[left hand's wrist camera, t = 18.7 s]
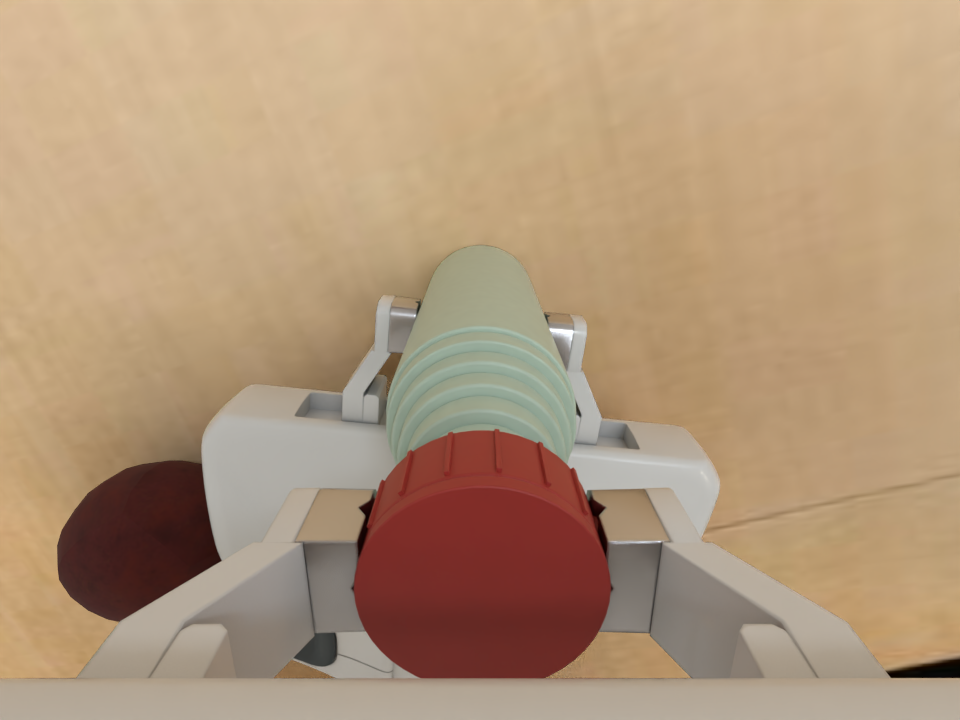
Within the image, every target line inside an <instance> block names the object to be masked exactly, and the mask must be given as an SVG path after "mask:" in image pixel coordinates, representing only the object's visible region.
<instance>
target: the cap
mask: <svg viewBox="0 0 960 720" xmlns="http://www.w3.org/2000/svg"><path fill="white" fill-rule="evenodd" d="M367 528H368V529H367V532H366V536H365V539H364V542H363V546H362V550H361V552H360V556H359V559H358V563H357V567H356V571H355V576H354V597H355V604H356V608H357V612H358V615H359V618H360V620H361V623H362V625H363V627H364V629H365V631H366V632H367V634H368V636H369V637H370V639H371V640H372V642H373V643H374V644H375V645H376V646H377V647H378V649H379V650H380V651H381V652H382V653H383V654H384V655H385V656H386V657H388V658H389V659H390V660H391V661H392V662H394V663H395V664H396V665H398V666H399V667H401V668H402V669H404V670H405V671H407V672H409V673H411V674H413V675H414V676H416V677H419V678H545V677H548V676H550V675H552V674H554V673H555V672H557V671H559V670H561V669H562V668H564V667H565V666H567V665H568V664H569V663H571V662H572V661H574V660H575V659H576V658H577V657H578V656H579V655H580V654H581V653H582V652H583V651H584V650H585V649H586V648H587V647H588V646H589V645H590V643H591V642H592V641H593V640H594V638H595V637H596V635H597V633H598V632H599V630H600V628H601V626H602V624H603V622H604V619H605V617H606V614H607V610H608V607H609V603H610V594H611V580H610V572H609V568H608V564H607V560H606V557H605V554H604V551H603V547H602V544H601V541H600V537H599V534H598V519H597V517H595V516H593V515H592V512H591V508H590V505H589V502H588V499H587V496H586V494H585V491H584V489H583V486H582V485H581V483H580V481H579V479H578V476H577V473H576V470H575V469H574V468H571V469H570V468H569V466H568V465H567V464H566V463H565V462H564V461H563V460H561V459H560V458H559V457H558V456H557V455H556V454H554V453H553V452H551V451H550V450H548V449H547V448H545V447H544V445H543V443H542V442H540V441H539V442H538V443H536V442H534V441H532V440H529V439H527V438H524V437H521V436H518V435H514V434H510V433H506V432H500V430H499V429H494V431H490V430H473V431H465V432H458V433H453V432H449V433H448V435H446V436H443V437H440V438H438V439H435V440H432V441H430V442H428V443H426V444H425V445H423V446H421V447H419V448H417V449H416V450H414V451H412V450H409V451H408V452H407V456H406V457H405V458H404V459H403V460H402V461H401V462H399V463H398V464H397V465H396V466H395V468H394V469H393V470H392V471H391V473H390V474H389V475H388V476H387V478H386V480H385V481H384V480H381V482H380V484H379V488H378V491H377V494H376V497H375V501H374V504H373V507H372V511H371V514H370V517H369V521H368V524H367Z"/></svg>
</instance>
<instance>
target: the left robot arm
mask: <svg viewBox="0 0 960 720" xmlns="http://www.w3.org/2000/svg"><path fill="white" fill-rule="evenodd" d="M376 494H377V491H376V489H346V488H322V489H321V488H295V489H292V490H291V491H290V492H289V494H288V496H287V498H286V499H285V501H284V503H283V505H282V507H281V508H280V510H279V512H278V514H277V515H276V517H275V519H274V521H273V522H272V524H271V526H270V528H269V529H268V531H267V533H266V535H265V537H264V538H263V540H262V542H253V543H251V544H249V545H248V546H246V547H244V548H243V549H241V550H239V551H238V552H236V553H234V554H233V555H231V556H229V557H228V558H226V559H224V560H222V561H221V562H219V563H217V564H216V565H214V566H212V567H211V568H209V569H207V570H206V571H204V572H202V573H201V574H199V575H197V576H196V577H194V578H192V579H190V580H189V581H187V582H185V583H184V584H182V585H180V586H179V587H177V588H175V589H174V590H172V591H170V592H169V593H167V594H165V595H163V596H162V597H160V598H158V599H157V600H155V601H153V602H152V603H150V604H148V605H147V606H145V607H143V608H142V609H140V610H138V611H137V612H135V613H133V614H131V615H130V616H128V617H126V618H125V619H123V620H121V621H120V622H119V623H118V624H117V626H116V627H115V628H114V630H113V631H112V632H111V633H110V635H109V636H108V637H107V639H106V640H105V641H104V643H103V644H102V645H101V646H100V648H99V649H98V650H97V652H96V653H95V654H94V655H93V657H92V658H91V659H90V661H89V662H88V663H87V664H86V666H85V667H84V668H83V670H82V671H81V672H80V674H79V675H78V676H77V677H76V678H0V720H960V678H890V676H889V675H888V674H887V673H886V671H885V670H884V669H883V667H882V666H881V665H880V664H879V662H878V661H877V660H876V658H875V657H874V656H873V655H872V653H871V652H870V651H869V649H868V648H867V647H866V646H865V644H864V643H863V642H862V641H861V639H860V638H859V637H858V635H857V634H856V633H855V632H854V630H853V629H852V628H851V626H850V625H849V624H848V623H847V622H846V621H844V620H843V619H841V618H839V617H837V616H836V615H834V614H832V613H831V612H829V611H827V610H826V609H824V608H822V607H821V606H819V605H817V604H815V603H814V602H812V601H810V600H809V599H807V598H805V597H804V596H802V595H800V594H798V593H797V592H795V591H793V590H792V589H790V588H788V587H787V586H785V585H783V584H782V583H780V582H778V581H776V580H775V579H773V578H771V577H770V576H768V575H766V574H765V573H763V572H761V571H760V570H758V569H756V568H754V567H753V566H751V565H749V564H748V563H746V562H744V561H743V560H741V559H739V558H738V557H736V556H734V555H732V554H731V553H729V552H727V551H726V550H724V549H722V548H721V547H719V546H717V545H715V544H714V543H712V542H703V540H702V539H701V537H700V535H699V534H698V532H697V530H696V528H695V527H694V525H693V523H692V522H691V520H690V518H689V516H688V515H687V513H686V511H685V510H684V508H683V506H682V505H681V503H680V501H679V499H678V498H677V496H676V494H675V493H674V491H673V490H672V489H670V488H669V487H668V488H642V489H609V490H587V494H586V496H587V499H588V502H589V505H590V508H591V512H592V515H593V516H595V517H597V519H598V534H599V537H600V541H601V544H602V547H603V551H604V554H605V557H606V560H607V564H608V568H609V572H610V580H611V594H610V603H609V607H608V610H607V614H606V617H605V619H604V622H603V624H602V626H601V628H600V630H599V632H626V633H650V636H651V637H652V638H653V639H654V640H655V641H656V642H657V643H658V644H659V645H660V646H661V647H662V648H663V649H664V650H665V651H666V652H667V653H668V654H669V655H670V656H671V657H672V658H673V660H674V661H675V662H676V663H677V664H678V665H679V666H680V667H681V668H682V669H683V670H684V671H685V672H686V673H687V674H688V675H689V676H690V677H691V678H274V677H275V676H276V675H277V674H278V673H279V672H280V671H281V670H282V669H283V668H284V667H285V666H286V665H287V664H288V663H289V662H290V661H291V660H292V659H293V658H294V657H295V656H296V654H297V653H298V652H299V651H300V650H301V649H302V648H303V647H304V646H305V645H306V644H307V643H308V642H309V641H310V640H311V639H312V638H313V637H314V633H337V632H365V629H364V627H363V625H362V623H361V620H360V618H359V615H358V612H357V608H356V604H355V597H354V576H355V571H356V567H357V563H358V559H359V556H360V552H361V550H362V546H363V542H364V539H365V536H366V532H367V529H368V528H367V524H368V521H369V517H370V514H371V511H372V507H373V504H374V501H375V497H376Z"/></svg>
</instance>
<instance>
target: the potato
mask: <svg viewBox="0 0 960 720" xmlns="http://www.w3.org/2000/svg"><path fill="white" fill-rule="evenodd" d="M57 554H58V574H59V580H60V582H61V583H62V585H63V586H64V588H65V589H66V591H67V592H68V594H69V595H70V597H72V598H73V599H74V600H75V601H77V602H78V603H79V604H80V605H82V606H83V607H84V608H86V609H87V610H88V611H90V612H93V613H95V614H97V615H99V616H101V617H104V618H106V619H108V620H113V621H119V622H120V621H121V620H123V619H125V618H126V617H128V616H130V615H131V614H133V613H135V612H137V611H138V610H140V609H142V608H143V607H145V606H147V605H148V604H150V603H152V602H153V601H155V600H157V599H158V598H160V597H162V596H163V595H165V594H167V593H169V592H170V591H172V590H174V589H175V588H177V587H179V586H180V585H182V584H184V583H185V582H187V581H189V580H190V579H192V578H194V577H196V576H197V575H199V574H201V573H202V572H204V571H206V570H207V569H209V568H211V567H212V566H214V565H216V564H217V563H219V562H221V561H222V560H221V558H220V556H219V553H218V551H217V548H216V545H215V541H214V537H213V533H212V528H211V523H210V518H209V513H208V507H207V501H206V495H205V488H204V479H203V470H202V464H197V463H192V462H186V461H163V462H156V463H148V464H142V465H138V466H134V467H130V468H127V469H125V470H123V471H121V472H120V473H118V474H116V475H114V476H113V477H111V478H109V479H108V480H106V481H104V482H103V483H101V484H100V485H99V486H97V487H96V488H95V489H93V490H92V491H91V492H89V493H88V494H87V495H86V497H85V498H84V499H83V500H82V502H81V503H80V504H79V505H78V507H77V508H76V509H75V510H74V512H73V513H72V515H71V517H70V518H69V520H68V521H67V523H66V524H65V526H64V528H63V529H62V531H61V535H60V538H59V541H58V545H57Z"/></svg>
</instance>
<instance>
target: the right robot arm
mask: <svg viewBox="0 0 960 720" xmlns="http://www.w3.org/2000/svg"><path fill="white" fill-rule="evenodd" d="M420 307H421V299H415V298H406V297H398V296H391V295H382V297H381V298H380V300H379V301H378V306H377V311H376V323H375V342H374V344H373V345H372V347H371V348H370V349H369V351H368V352H367V354H366V355H365V357H364V358H363V359H362V361H361V362H360V364H359V365H358V367H357V368H356V370H355V371H354V373H353V374H352V376H351V378H350V380H349V381H348V383H347V385H346V386H345V388H344V390H343V392H333V391H323V390H313V389H302V388H292V387H282V386H272V385H263V384H252V385H249V386H247V387H245V388H244V389H242V390H241V391H240V392H239V393H238V394H237V395H235V396H234V397H233V398H232V399H231V400H229V401H228V402H227V403H226V404H225V405H224V406H223V407H222V408H221V409H220V410H219V411H218V413H217V414H216V415H215V416H214V417H213V418H212V419H211V421H210V422H209V424H208V425H207V427H206V429H205V431H204V434H203V437H202V444H201V456H202V470H203V479H204V488H205V495H206V501H207V507H208V513H209V518H210V523H211V528H212V533H213V537H214V541H215V545H216V548H217V551H218V553H219V556H220V558H221V560H224V559H226V558H228V557H229V556H231V555H233V554H234V553H236V552H238V551H239V550H241V549H243V548H244V547H246V546H248V545H249V544H251V543H253V542H262V540H263V538H264V537H265V535H266V533H267V531H268V529H269V528H270V526H271V524H272V522H273V521H274V519H275V517H276V515H277V514H278V512H279V510H280V508H281V507H282V505H283V503H284V501H285V499H286V498H287V496H288V494H289V492H290V491H291V490H292V489H295V488H321V489H322V488H346V489H376V491H378V488H379V484H380V482H381V480H384V481H385V480H386V478H387V476H388V475H389V474H390V473H391V471H392V470H393V469H394V468H395V466H396V464H395V461H394V458H393V456H392V453H391V450H390V447H389V444H388V439H387V432H386V405H387V398H388V397H387V377H386V376H385V375H379V374H377V373H378V372H379V370H380V369H381V368H382V366H383V365H384V363H385V362H386V360H387V359H388V358H389V356H390V355H391V353H403V352H404V349H405V346H406V344H407V341H408V338H409V336H410V333H411V331H412V328H413V325H414V323H415V320H416V317H417V315H418V312H419V310H420ZM544 316H545V319H546V321H547V324H548V326H549V329H550V331H551V334H552V336H553V339H554V341H555V344H556V346H557V349H558V351H559V354H560V356H561V359H562V362H563V364H564V367H565V369H566V372H567V374H568V377H569V379H570V382H571V385H572V388H573V391H574V396H575V401H576V436H575V442H574V446H573V449H572V452H571V454H570V457H569V460H568V464H567V465H568V466H569V468H570V469H571V468H574V469H575V470H576V473H577V476H578V479H579V481H580V483H581V485H582V486H583V489H584V491H585V494H587V490H609V489H642V488H668V487H669V488H670V489H672V490H673V491H674V493H675V494H676V496H677V498H678V499H679V501H680V503H681V505H682V506H683V508H684V510H685V511H686V513H687V515H688V516H689V518H690V520H691V522H692V523H693V525H694V527H695V528H696V530H697V532H698V534H699V535H700V537H701V538H702V536H703V534H704V531H705V529H706V527H707V524H708V522H709V519H710V517H711V515H712V512H713V509H714V507H715V504H716V501H717V498H718V495H719V490H720V479H719V476H718V473H717V471H716V469H715V467H714V465H713V463H712V462H711V460H710V459H709V457H708V455H707V454H706V452H705V451H704V450H703V448H702V447H701V446H700V445H699V443H698V442H697V441H696V440H695V439H694V437H693V436H692V435H691V434H690V433H689V432H688V431H687V430H686V429H685V428H683V427H681V426H676V425H668V424H658V423H648V422H638V421H627V420H617V419H607V418H602V417H601V414H600V412H599V409H598V407H597V404H596V402H595V399H594V397H593V394H592V392H591V389H590V387H589V384H588V382H587V379H586V377H585V374H584V372H583V370H582V368H581V366H582V360H583V354H584V349H585V343H586V338H587V323H586V321H585V320H584V318H583V317H582V316H581V315H571V314H561V313H550V312H545V313H544ZM292 660H293V661H296V662H299V663H301V664H304V665H307V666H309V667H312V668H314V669H316V670H319V671H321V672H324V673H326V674H328V675H330V676H332V677H334V678H419V677H416V676H414V675H413V674H411V673H409V672H407V671H405V670H404V669H402V668H401V667H399V666H398V665H396V664H395V663H394V662H392V661H391V660H390V659H389V658H388V657H386V656H385V655H384V654H383V653H382V652H381V651H380V650H379V649H378V647H377V646H376V645H375V644H374V643H373V642H372V640H371V639H370V637H369V636H368V634H367V632H366V631H365V632H337V633H314V637H313V638H312V639H311V640H310V641H309V642H308V643H307V644H306V645H305V646H304V647H303V648H302V649H301V650H300V651H299V652H298V653H297V654H296V656H295V657H294V658H293V659H292Z"/></svg>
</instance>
